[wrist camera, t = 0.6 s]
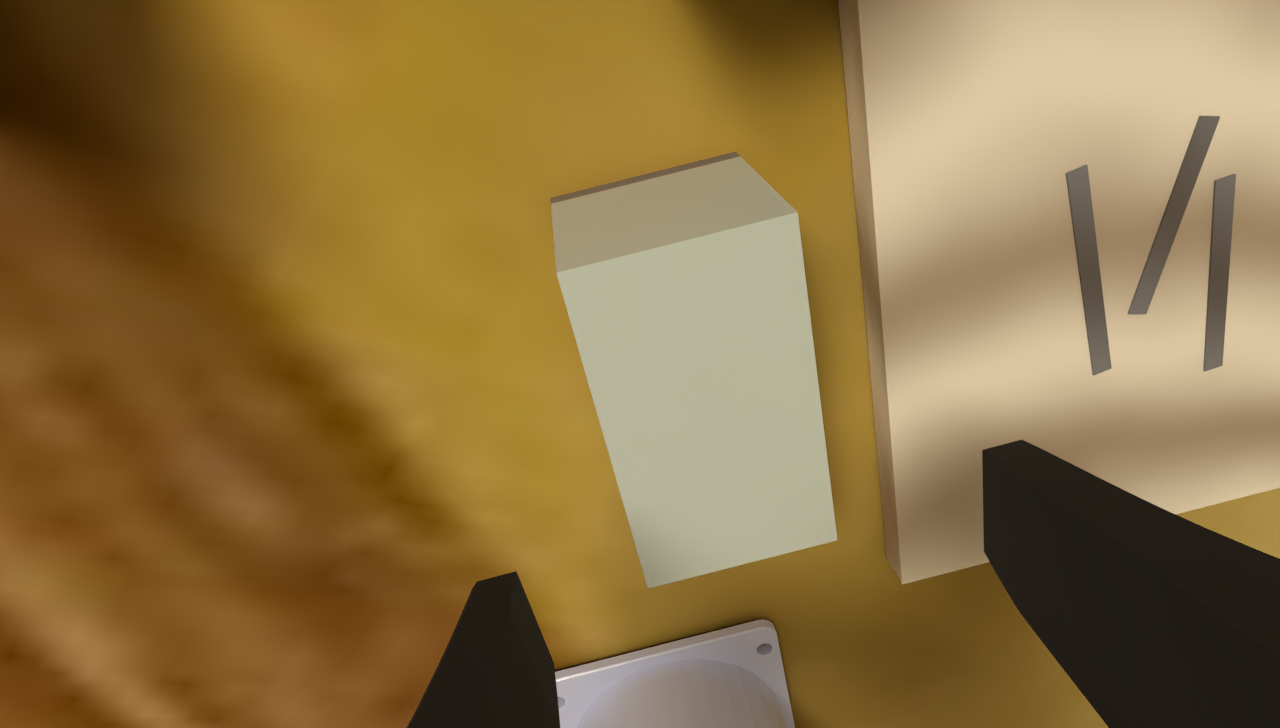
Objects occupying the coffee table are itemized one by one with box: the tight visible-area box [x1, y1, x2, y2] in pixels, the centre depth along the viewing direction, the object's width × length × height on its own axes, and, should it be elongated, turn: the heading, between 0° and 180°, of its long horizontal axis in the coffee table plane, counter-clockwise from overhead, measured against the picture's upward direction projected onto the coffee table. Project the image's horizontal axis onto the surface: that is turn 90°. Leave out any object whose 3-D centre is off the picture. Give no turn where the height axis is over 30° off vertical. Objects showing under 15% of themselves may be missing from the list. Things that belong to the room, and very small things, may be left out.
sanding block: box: [551, 152, 837, 588], centre depth 18 cm, size 8×4×5 cm, turn 12°
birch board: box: [838, 0, 1280, 584], centre depth 20 cm, size 18×14×1 cm
